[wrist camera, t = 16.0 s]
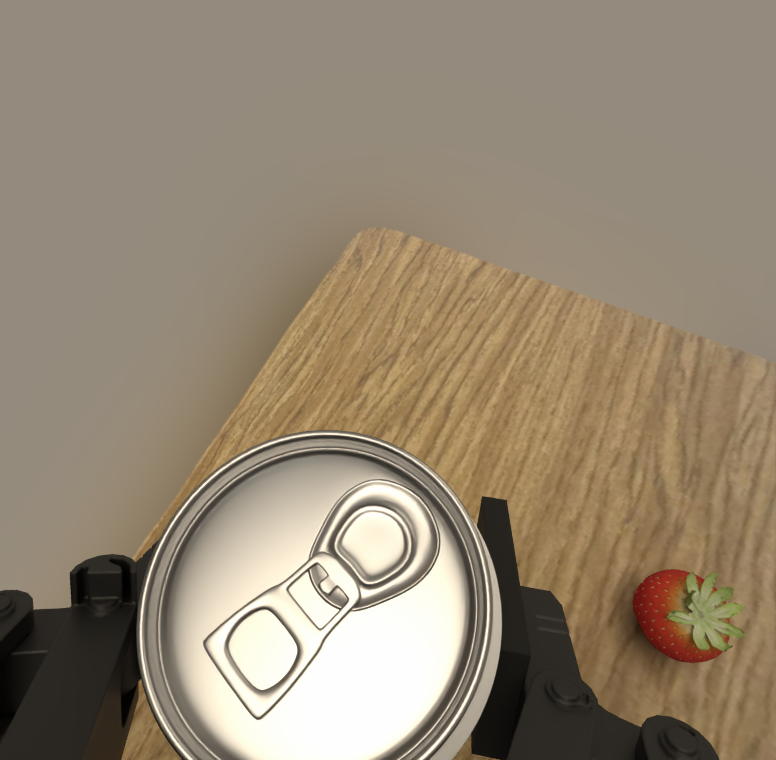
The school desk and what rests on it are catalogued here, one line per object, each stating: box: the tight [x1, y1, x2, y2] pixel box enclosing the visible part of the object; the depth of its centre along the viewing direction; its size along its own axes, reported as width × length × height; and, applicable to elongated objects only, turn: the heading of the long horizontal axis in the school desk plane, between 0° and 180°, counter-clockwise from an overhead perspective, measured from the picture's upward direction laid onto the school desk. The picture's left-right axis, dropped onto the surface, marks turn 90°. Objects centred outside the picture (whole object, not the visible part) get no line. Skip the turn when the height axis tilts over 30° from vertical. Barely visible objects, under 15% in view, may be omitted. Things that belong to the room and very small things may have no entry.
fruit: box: [633, 569, 745, 663], centre depth 33 cm, size 5×5×8 cm
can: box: [136, 430, 502, 760], centre depth 14 cm, size 6×6×12 cm
